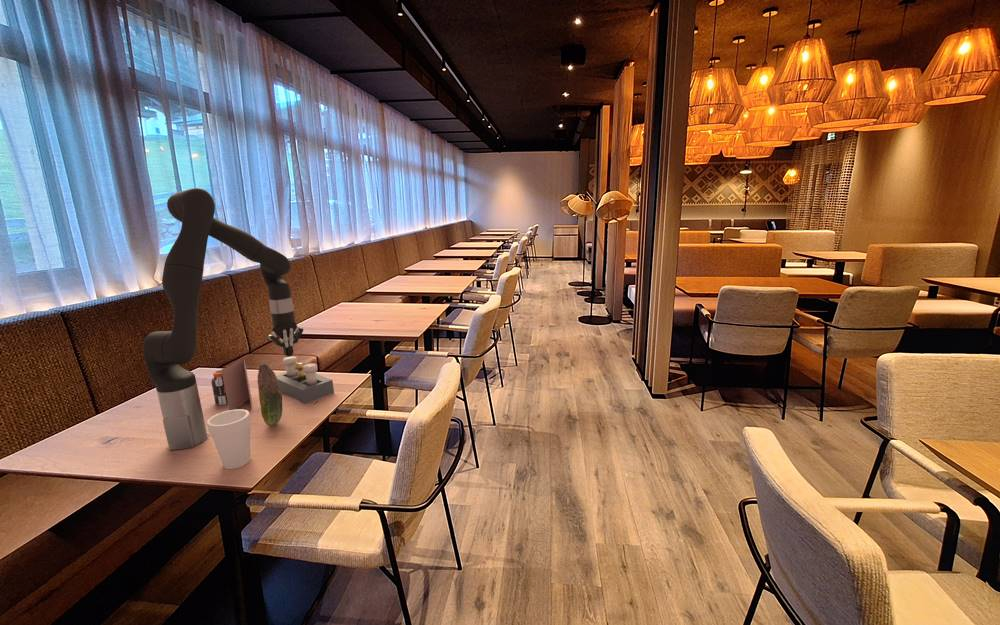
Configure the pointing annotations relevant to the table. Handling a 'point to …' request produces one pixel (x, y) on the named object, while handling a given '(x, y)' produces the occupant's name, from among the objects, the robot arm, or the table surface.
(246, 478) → the table surface
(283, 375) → the mount
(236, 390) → the greeting card
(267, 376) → the vegetable
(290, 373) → the far cream knob
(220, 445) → the foam cup
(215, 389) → the pill bottle
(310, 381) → the near cream knob
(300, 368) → the gold tall rounded piece
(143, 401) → the table surface
